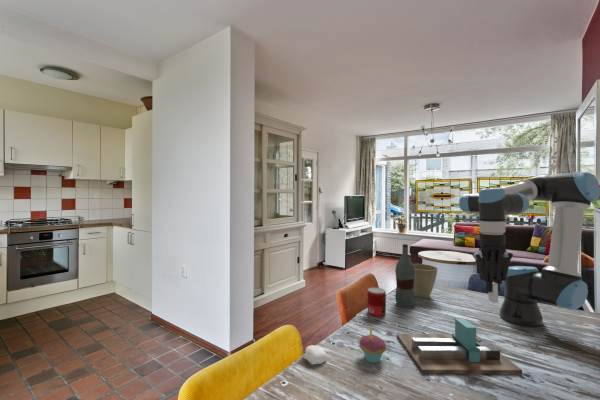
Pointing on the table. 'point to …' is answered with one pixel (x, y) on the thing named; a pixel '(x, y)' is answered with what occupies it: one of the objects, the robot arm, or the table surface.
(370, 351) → the cupcake
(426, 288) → the plant pot
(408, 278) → the bottle
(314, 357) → the garlic
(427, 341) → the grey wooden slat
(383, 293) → the canned food
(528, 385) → the table surface
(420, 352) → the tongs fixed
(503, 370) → the board
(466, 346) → the teal upright slab
